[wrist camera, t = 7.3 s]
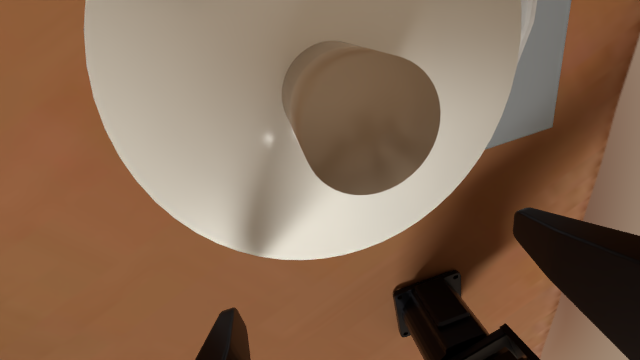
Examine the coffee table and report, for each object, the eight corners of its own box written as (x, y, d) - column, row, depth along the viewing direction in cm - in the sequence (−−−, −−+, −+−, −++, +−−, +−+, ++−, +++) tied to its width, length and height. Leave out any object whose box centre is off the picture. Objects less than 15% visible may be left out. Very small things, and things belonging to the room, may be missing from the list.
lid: (491, 189, 12) (584, 255, 9) (210, 284, 11) (198, 396, 8) (515, -241, 7) (783, -487, 3) (-29, -126, 6) (-387, -312, 2)
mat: (547, 125, 24) (552, 127, 24) (401, 173, 23) (403, 176, 23) (575, -69, 18) (581, -70, 18) (379, -14, 17) (381, -15, 17)
